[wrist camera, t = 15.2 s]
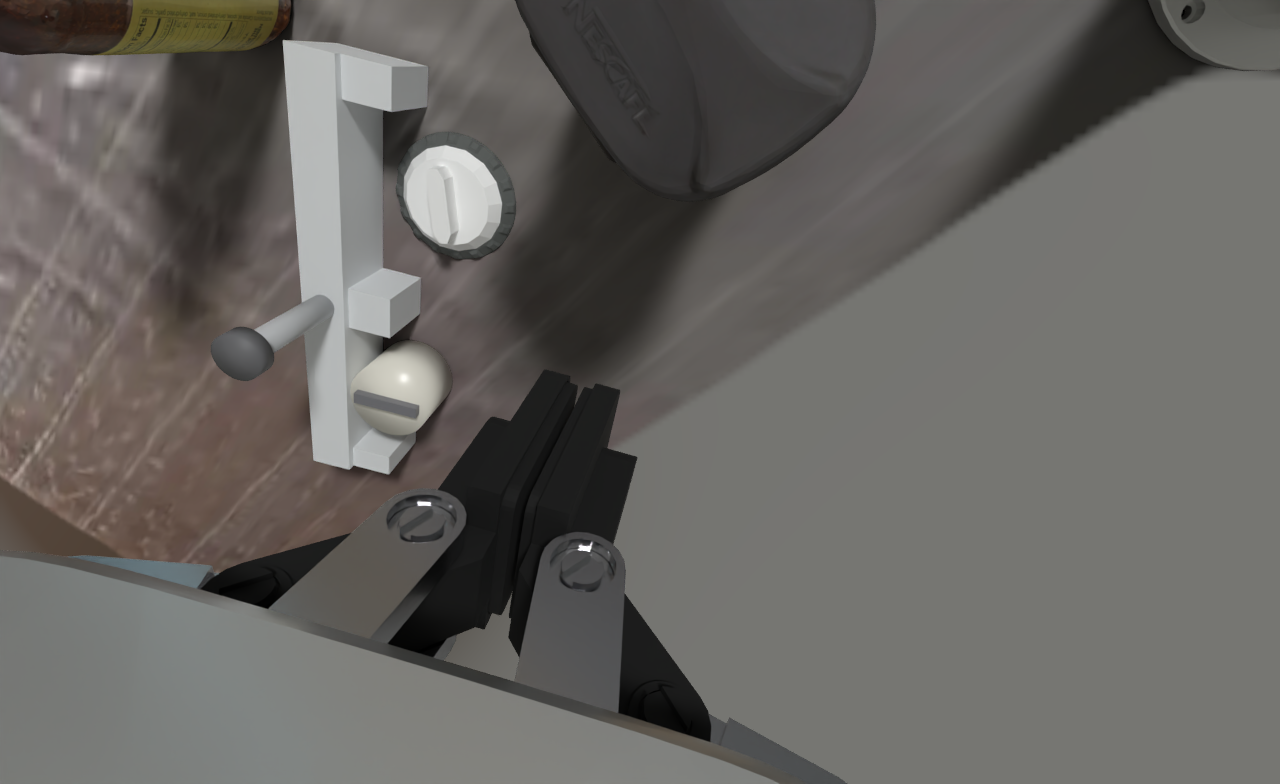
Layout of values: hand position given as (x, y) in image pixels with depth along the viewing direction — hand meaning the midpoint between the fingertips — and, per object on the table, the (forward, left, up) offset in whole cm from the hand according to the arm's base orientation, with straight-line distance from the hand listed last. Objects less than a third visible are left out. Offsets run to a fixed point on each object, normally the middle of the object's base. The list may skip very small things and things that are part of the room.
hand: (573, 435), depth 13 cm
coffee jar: (0, -9, -24) cm, 25 cm away
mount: (+17, +8, -24) cm, 30 cm away
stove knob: (+12, +2, -24) cm, 27 cm away
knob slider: (+14, +15, -24) cm, 31 cm away
